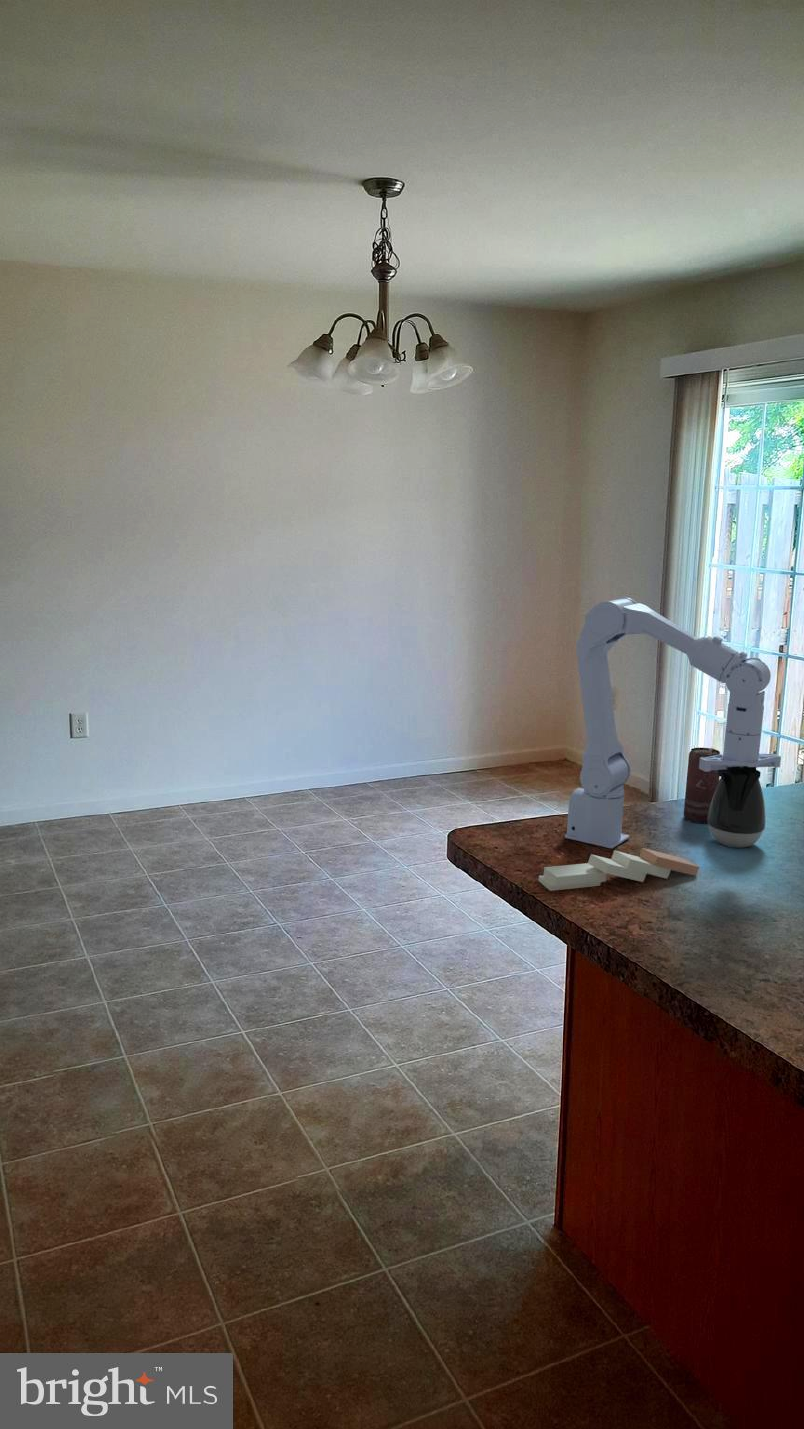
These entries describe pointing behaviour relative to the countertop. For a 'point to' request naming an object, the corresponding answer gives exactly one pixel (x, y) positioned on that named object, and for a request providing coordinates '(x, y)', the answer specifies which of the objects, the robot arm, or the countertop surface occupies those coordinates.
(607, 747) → the robot arm
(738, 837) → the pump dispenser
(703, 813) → the can
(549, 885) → the domino
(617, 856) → the domino
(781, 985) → the countertop surface
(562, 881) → the domino
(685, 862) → the end domino
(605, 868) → the domino
